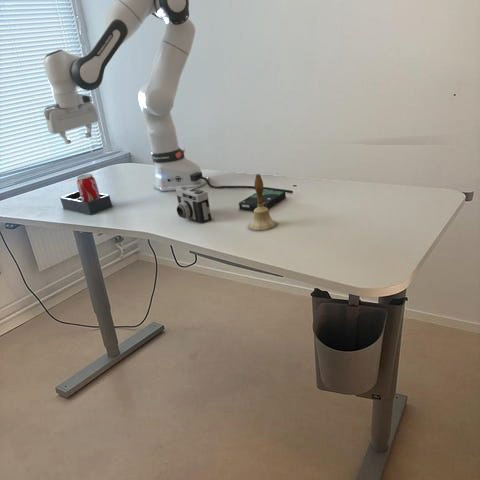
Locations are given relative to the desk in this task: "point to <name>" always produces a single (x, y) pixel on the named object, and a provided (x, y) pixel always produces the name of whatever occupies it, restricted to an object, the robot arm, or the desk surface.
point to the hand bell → (261, 210)
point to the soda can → (87, 188)
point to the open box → (85, 203)
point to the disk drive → (268, 200)
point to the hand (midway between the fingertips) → (78, 140)
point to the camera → (193, 204)
